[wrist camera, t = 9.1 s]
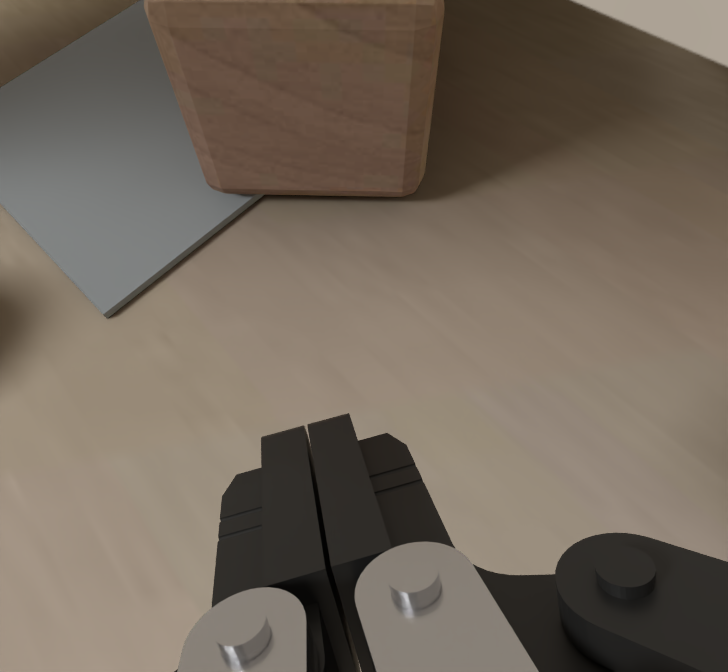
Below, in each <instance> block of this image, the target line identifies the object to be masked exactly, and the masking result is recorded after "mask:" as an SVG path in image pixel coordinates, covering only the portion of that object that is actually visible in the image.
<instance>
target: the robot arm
mask: <svg viewBox="0 0 728 672" xmlns="http://www.w3.org/2000/svg"><path fill="white" fill-rule="evenodd" d="M308 432H309V438H310V442H309V439H308V435H307V432H306V429H305V427H304V426H300V427H297V428H293V429H289V430H286V431H282V432H278V433H275V434H271V435H267V436H264V437H262V438H261V464H262V468H259V469H255V470H252V471H248V472H244V473H241V474H237V475H236V476H235V478H234V479H233V481H232V482H231V484H230V485H229V487H228V488H227V490H226V491H225V493H224V494H223V496H222V503H221V514H220V520H221V522H220V524H219V535H218V537H219V541H218V546H217V556H216V567H215V577H214V588H213V598H212V608H211V609H210V610H209V611H208V612H207V613H205V614H204V615H203V616H202V617H201V618H200V620H199V621H198V622H197V623H196V624H195V626H194V627H193V628H192V630H191V631H190V633H189V635H188V637H187V639H186V641H185V643H184V646H183V649H182V653H181V658H180V662H179V666H178V669H177V670H176V671H175V672H360V667H361V671H362V672H728V562H726V561H723V560H719V559H716V558H713V557H710V556H707V555H703V554H700V553H697V552H694V551H691V550H687V549H684V548H681V547H678V546H674V545H671V544H668V543H665V542H662V541H658V540H655V539H652V538H649V537H645V536H641V535H636V534H628V533H606V534H600V535H595V536H591V537H588V538H585V539H583V540H581V541H579V542H577V543H575V544H574V545H572V546H571V547H570V548H568V549H567V550H566V551H565V553H564V554H563V555H562V556H561V558H560V560H559V561H558V564H557V567H556V571H555V574H552V575H505V574H498V573H494V572H490V571H487V570H484V569H482V568H479V567H477V566H475V565H473V564H472V563H471V562H470V560H469V559H468V558H467V557H466V556H465V555H464V554H463V553H461V552H460V551H458V550H457V549H455V547H454V546H453V544H452V542H451V540H450V538H449V535H448V533H447V531H446V529H445V527H444V525H443V523H442V520H441V518H440V516H439V514H438V512H437V510H436V507H435V505H434V503H433V501H432V499H431V497H430V495H429V492H428V490H427V488H426V486H425V484H424V483H423V480H422V477H421V475H420V473H419V471H418V469H417V467H416V466H415V462H414V460H413V458H412V456H411V454H410V452H409V450H408V447H407V445H406V444H404V443H402V442H401V441H399V440H398V439H396V438H394V437H393V436H391V435H390V434H388V433H385V434H381V435H378V436H374V437H371V438H367V439H363V440H360V441H358V440H357V437H356V433H355V430H354V427H353V424H352V421H351V418H350V415H349V413H348V414H344V415H340V416H337V417H333V418H329V419H326V420H322V421H318V422H315V423H311V424H308ZM310 444H311V446H310ZM358 660H359V662H358ZM359 664H360V667H359Z"/></svg>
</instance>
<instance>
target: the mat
mask: <svg viewBox="0 0 728 672" xmlns="http://www.w3.org/2000/svg"><path fill="white" fill-rule="evenodd" d="M263 195H265V194H225V193H222V192H219V191H216V190H213V189H212V188H211V187H210V186H209V185H208V184H207V183H206V180H205V177H204V174H203V172H202V169H201V166H200V163H199V160H198V158H197V155H196V152H195V149H194V146H193V144H192V141H191V138H190V135H189V132H188V130H187V127H186V124H185V121H184V118H183V116H182V113H181V110H180V107H179V104H178V102H177V99H176V96H175V93H174V91H173V88H172V85H171V82H170V79H169V77H168V74H167V71H166V68H165V65H164V63H163V60H162V57H161V54H160V51H159V49H158V46H157V43H156V40H155V37H154V35H153V32H152V29H151V26H150V23H149V21H148V18H147V15H146V12H145V9H144V0H139V1H138V2H136V3H135V4H133V5H131V6H130V7H128V8H127V9H125V10H123V11H122V12H120V13H119V14H117V15H115V16H114V17H112V18H111V19H109V20H107V21H106V22H104V23H103V24H101V25H99V26H98V27H96V28H95V29H93V30H91V31H90V32H88V33H87V34H85V35H83V36H82V37H80V38H79V39H77V40H75V41H74V42H72V43H71V44H69V45H67V46H66V47H64V48H63V49H61V50H59V51H58V52H56V53H55V54H53V55H51V56H50V57H48V58H47V59H45V60H43V61H42V62H40V63H39V64H37V65H35V66H34V67H32V68H31V69H29V70H27V71H26V72H24V73H23V74H21V75H19V76H18V77H16V78H14V79H13V80H11V81H10V82H8V83H6V84H5V85H3V86H2V87H0V204H1V205H2V206H3V207H4V208H5V209H6V210H7V211H8V212H9V213H10V215H11V216H12V217H13V218H14V219H15V220H16V221H17V222H18V223H19V224H20V225H21V226H22V227H23V229H24V230H25V231H26V232H27V233H28V234H29V235H30V236H31V237H32V238H33V239H34V240H35V242H36V243H37V244H38V245H39V246H40V247H41V248H42V249H43V250H44V251H45V252H46V253H47V254H48V256H49V257H50V258H51V259H52V260H53V261H54V262H55V263H56V264H57V265H58V266H59V267H60V268H61V270H62V271H63V272H64V273H65V274H66V275H67V276H68V277H69V278H70V279H71V280H72V281H73V283H74V284H75V285H76V286H77V287H78V288H79V289H80V290H81V291H82V292H83V293H84V294H85V295H86V297H87V298H88V299H89V300H90V301H91V302H92V303H93V304H94V305H95V306H96V307H97V308H98V310H99V311H100V312H101V313H102V314H103V315H104V316H105V317H106V318H109V317H110V316H111V315H112V314H114V313H115V312H116V311H117V310H119V309H120V308H121V307H123V306H124V305H125V304H126V303H128V302H129V301H130V300H131V299H133V298H134V297H135V296H136V295H138V294H139V293H140V292H142V291H143V290H144V289H145V288H147V287H148V286H149V285H150V284H152V283H153V282H154V281H156V280H157V279H158V278H159V277H161V276H162V275H163V274H164V273H166V272H167V271H168V270H169V269H171V268H172V267H173V266H175V265H176V264H177V263H178V262H180V261H181V260H182V259H183V258H185V257H186V256H187V255H189V254H190V253H191V252H192V251H194V250H195V249H196V248H197V247H199V246H200V245H201V244H202V243H204V242H205V241H206V240H208V239H209V238H210V237H211V236H213V235H214V234H215V233H216V232H218V231H219V230H220V229H222V228H223V227H224V226H225V225H227V224H228V223H229V222H230V221H232V220H233V219H234V218H236V217H237V216H238V215H239V214H241V213H242V212H243V211H244V210H246V209H247V208H248V207H249V206H251V205H252V204H253V203H255V202H256V201H257V200H258V199H260V198H261V197H262V196H263Z"/></svg>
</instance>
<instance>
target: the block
mask: <svg viewBox="0 0 728 672" xmlns="http://www.w3.org/2000/svg"><path fill="white" fill-rule="evenodd" d="M144 9H145V12H146V15H147V18H148V21H149V23H150V26H151V29H152V32H153V35H154V37H155V40H156V43H157V46H158V49H159V51H160V54H161V57H162V60H163V63H164V65H165V68H166V71H167V74H168V77H169V79H170V82H171V85H172V88H173V91H174V93H175V96H176V99H177V102H178V104H179V107H180V110H181V113H182V116H183V118H184V121H185V124H186V127H187V130H188V132H189V135H190V138H191V141H192V144H193V146H194V149H195V152H196V155H197V158H198V160H199V163H200V166H201V169H202V172H203V174H204V177H205V180H206V183H207V184H208V185H209V186H210V187H211V188H212V189H213V190H216V191H219V192H222V193H225V194H271V195H327V196H384V197H402V196H406V195H409V194H412V193H415V191H416V189H417V188H418V186H419V184H420V182H421V180H422V178H423V176H424V175H425V167H426V158H427V150H428V142H429V134H430V126H431V118H432V109H433V101H434V93H435V85H436V77H437V69H438V60H439V52H440V44H441V36H442V28H443V20H444V12H445V7H444V0H144Z"/></svg>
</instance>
